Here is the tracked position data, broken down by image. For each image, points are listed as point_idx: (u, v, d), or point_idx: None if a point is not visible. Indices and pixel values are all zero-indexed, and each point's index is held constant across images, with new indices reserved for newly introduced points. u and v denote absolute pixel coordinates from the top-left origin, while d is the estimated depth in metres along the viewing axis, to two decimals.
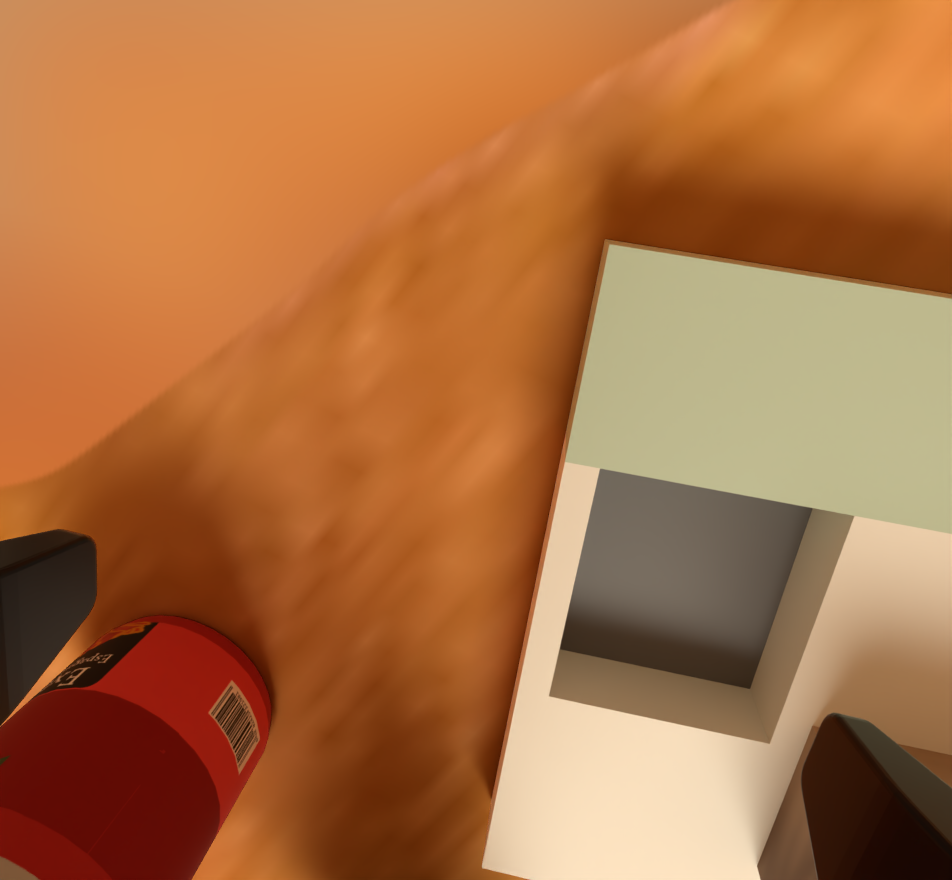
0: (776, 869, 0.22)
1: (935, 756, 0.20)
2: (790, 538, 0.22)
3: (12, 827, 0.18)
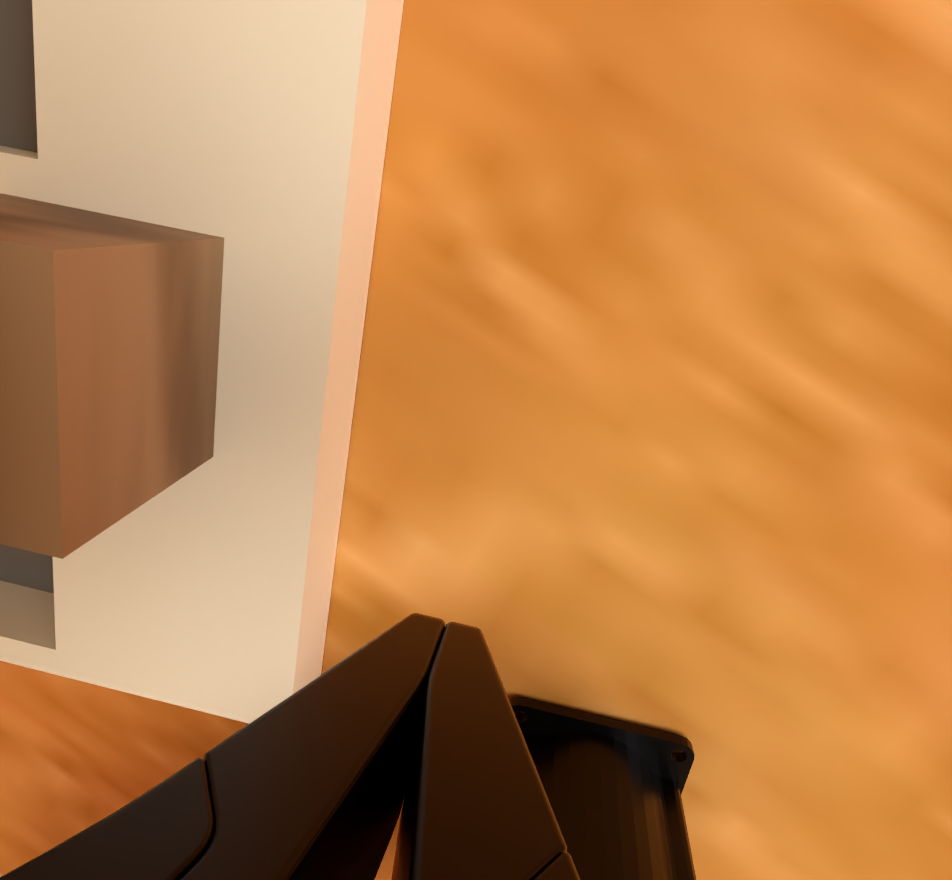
0: None
1: None
2: None
3: None
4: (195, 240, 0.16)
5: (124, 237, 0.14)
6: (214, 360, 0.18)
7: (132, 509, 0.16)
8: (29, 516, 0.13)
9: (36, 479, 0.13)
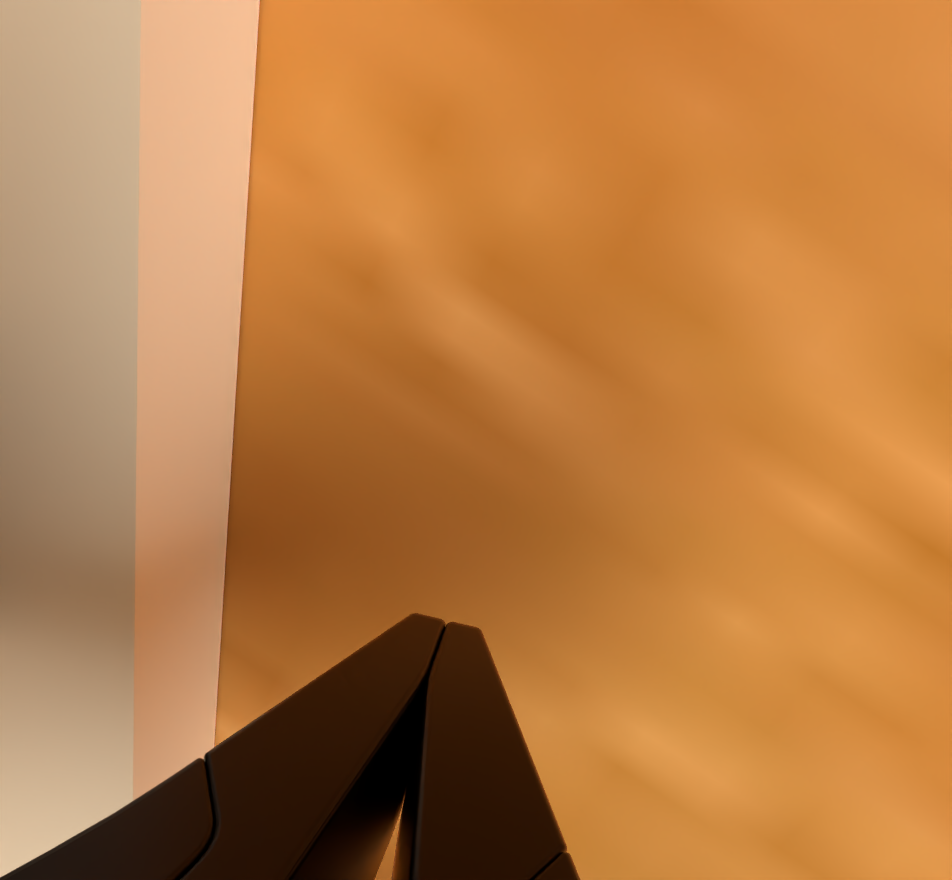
0: None
1: None
2: None
3: None
4: None
5: None
6: None
7: None
8: None
9: None
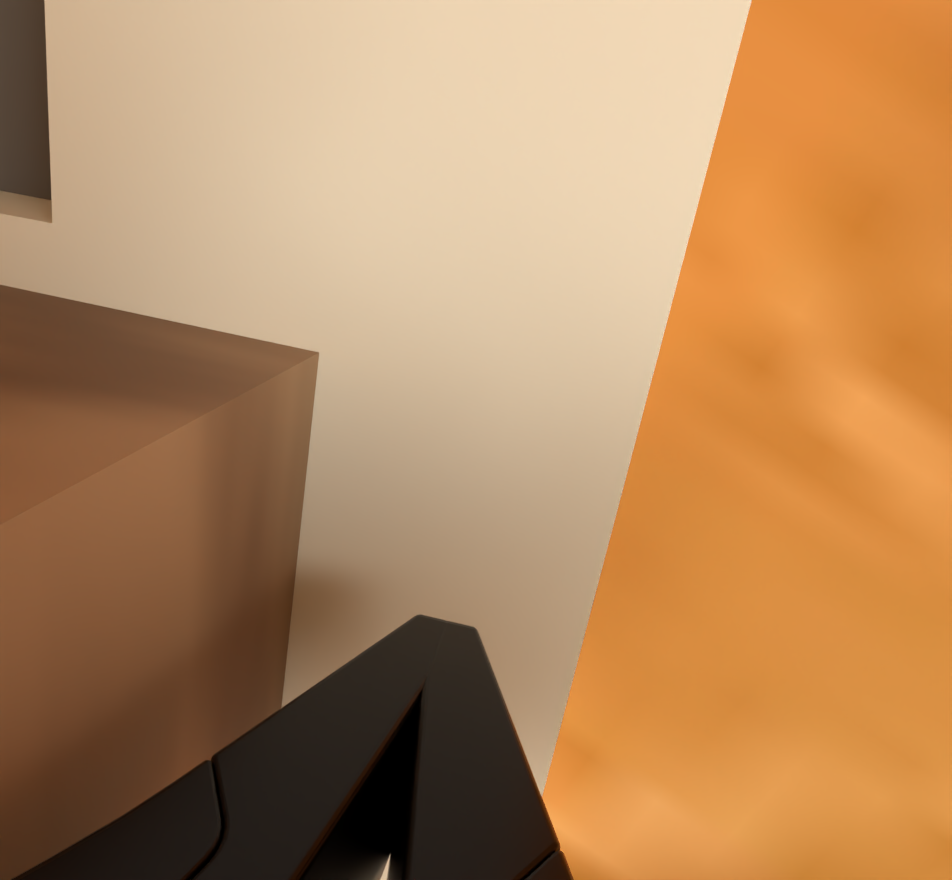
0: None
1: None
2: None
3: None
4: (275, 376, 0.08)
5: (130, 403, 0.06)
6: (292, 567, 0.10)
7: None
8: None
9: None
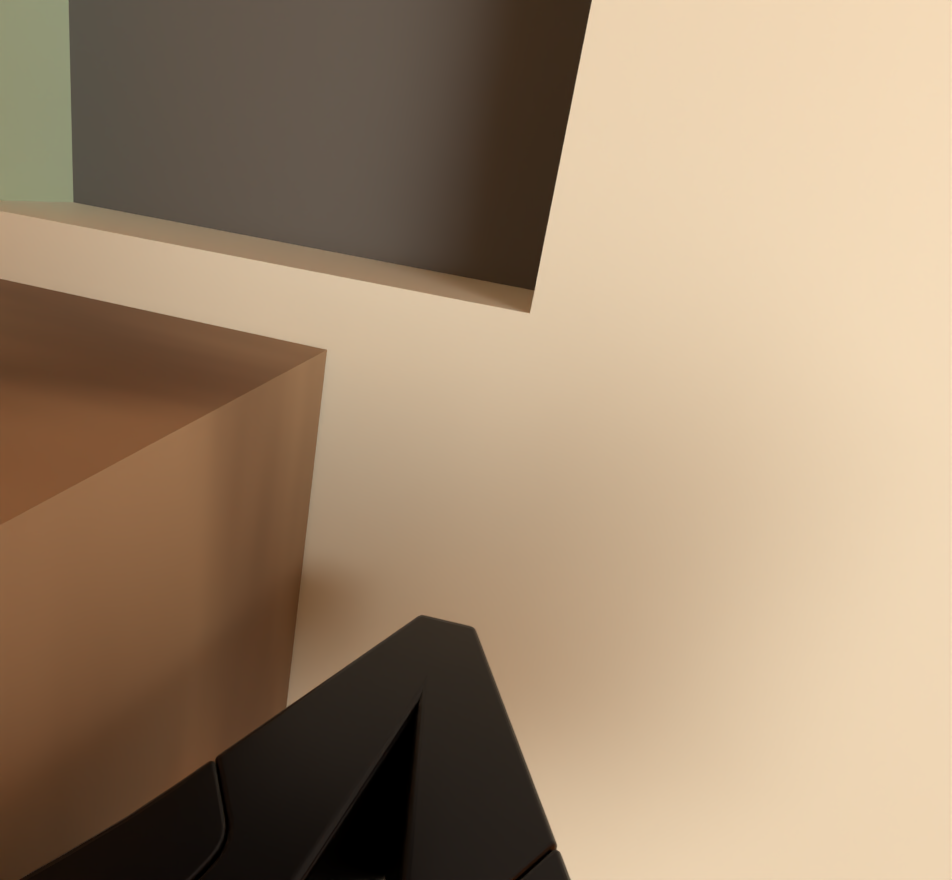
0: None
1: None
2: None
3: None
4: (284, 373, 0.08)
5: (140, 399, 0.06)
6: (298, 564, 0.10)
7: None
8: None
9: None
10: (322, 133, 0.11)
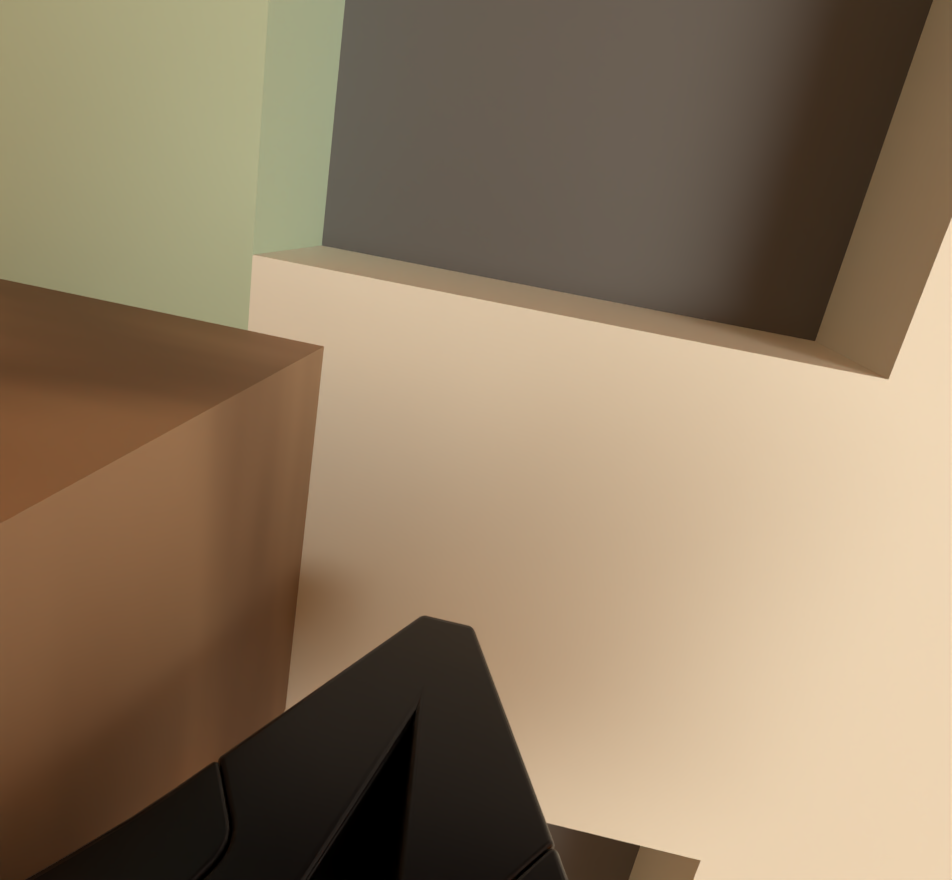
0: None
1: None
2: None
3: None
4: (281, 369, 0.08)
5: (139, 396, 0.06)
6: (297, 560, 0.10)
7: None
8: None
9: None
10: (600, 179, 0.10)
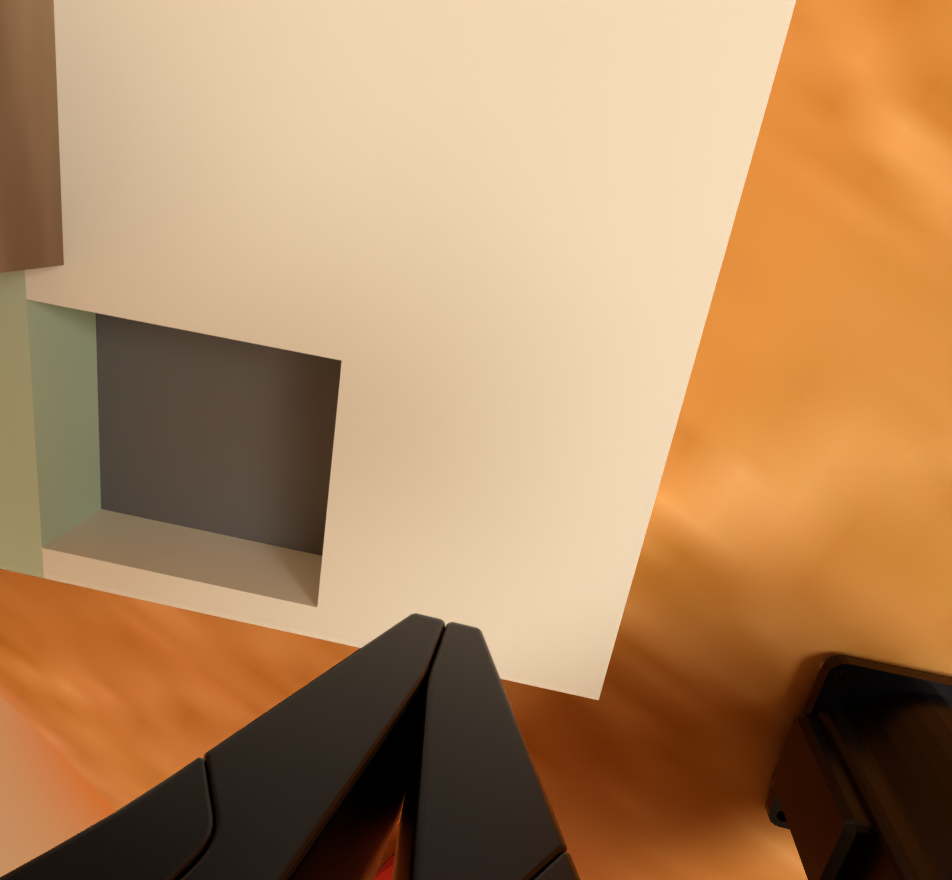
0: None
1: None
2: None
3: None
4: None
5: None
6: (53, 137, 0.15)
7: None
8: None
9: None
10: None
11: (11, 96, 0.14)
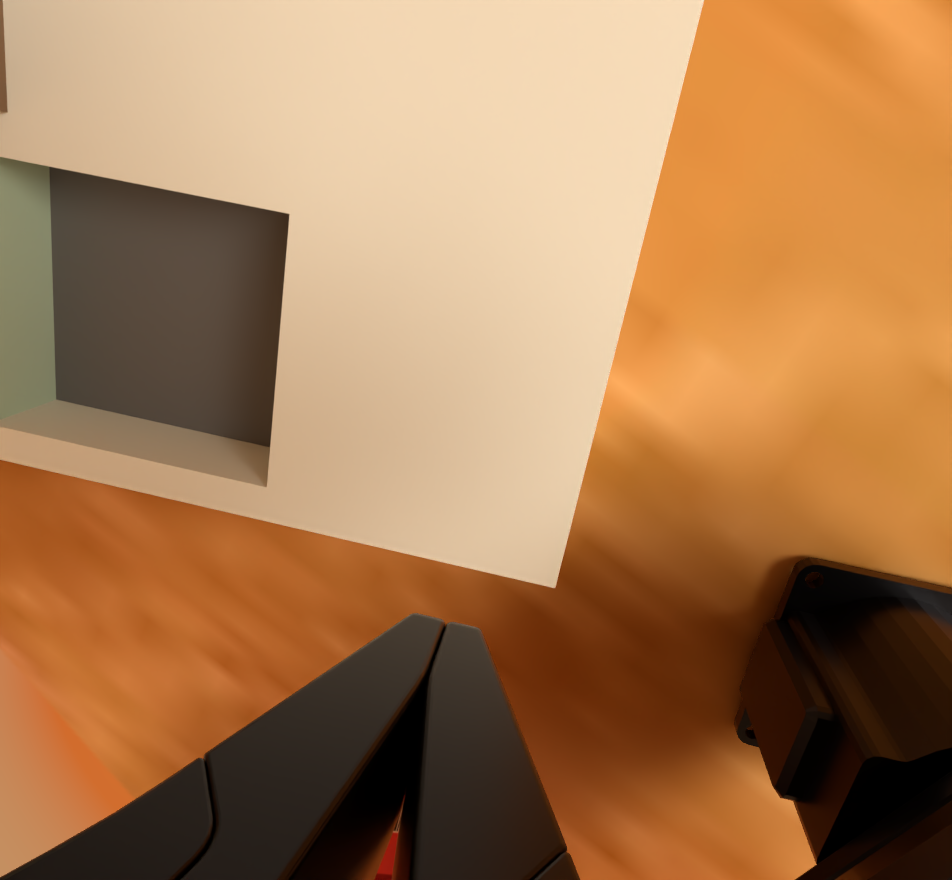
0: None
1: None
2: (121, 186, 0.19)
3: None
4: None
5: None
6: None
7: None
8: None
9: None
10: None
11: None
